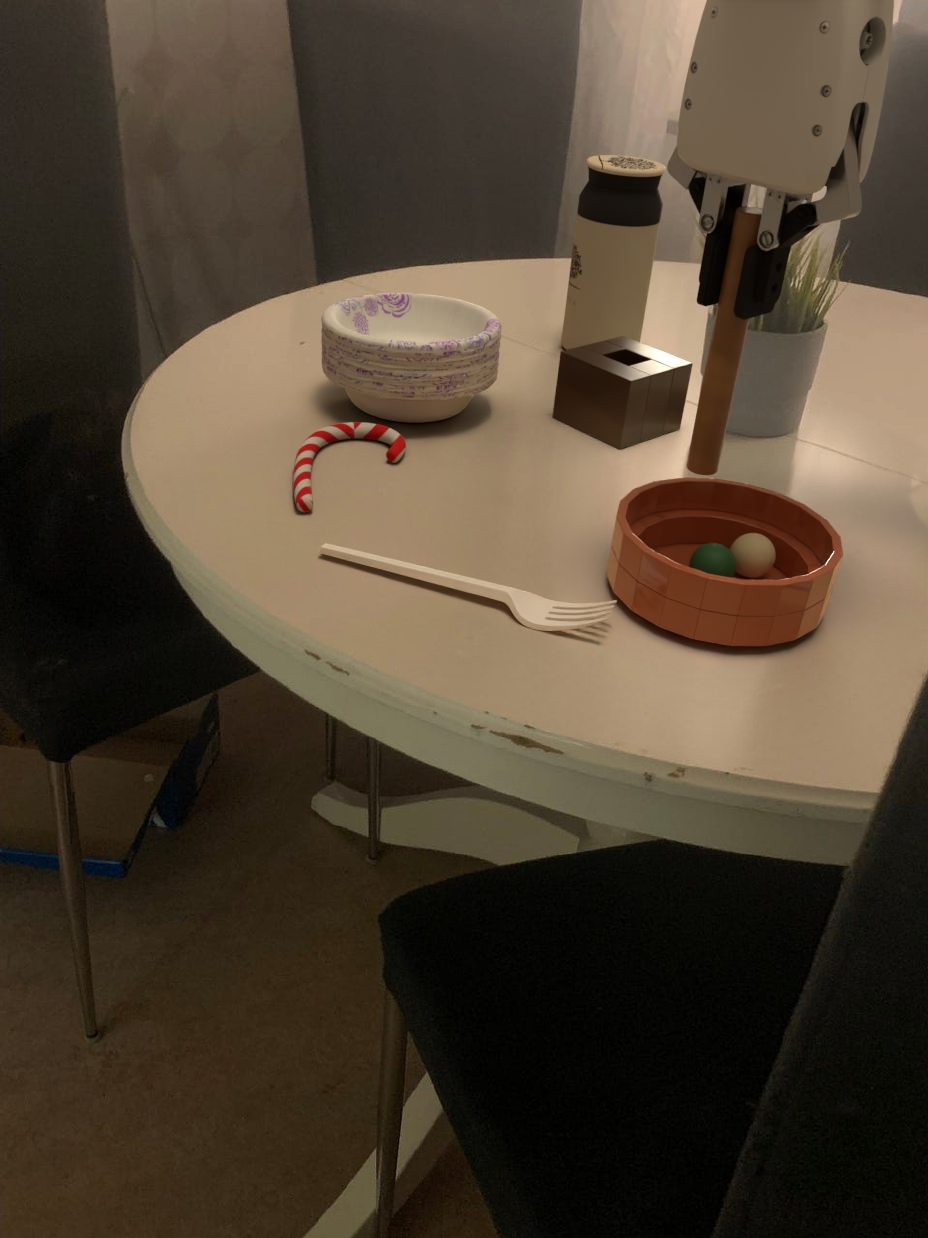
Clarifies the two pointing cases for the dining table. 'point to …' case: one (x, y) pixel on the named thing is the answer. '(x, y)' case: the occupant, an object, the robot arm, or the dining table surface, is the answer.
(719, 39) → the robot arm
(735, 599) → the bowl
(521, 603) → the fork
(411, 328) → the paper bowls
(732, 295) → the stick
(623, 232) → the travel mug
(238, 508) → the dining table surface
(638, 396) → the holder
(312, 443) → the candy cane
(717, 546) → the green bead
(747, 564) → the cream bead
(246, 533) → the dining table surface
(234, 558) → the dining table surface
